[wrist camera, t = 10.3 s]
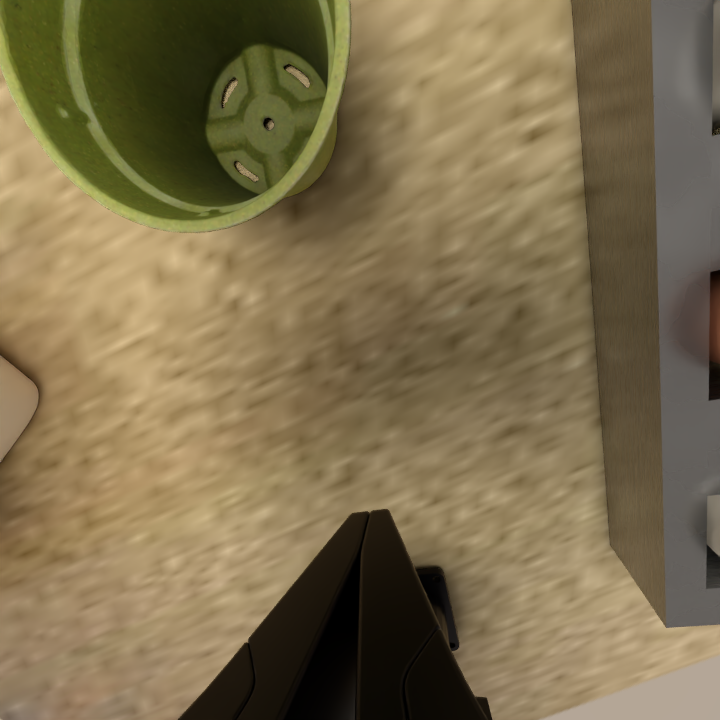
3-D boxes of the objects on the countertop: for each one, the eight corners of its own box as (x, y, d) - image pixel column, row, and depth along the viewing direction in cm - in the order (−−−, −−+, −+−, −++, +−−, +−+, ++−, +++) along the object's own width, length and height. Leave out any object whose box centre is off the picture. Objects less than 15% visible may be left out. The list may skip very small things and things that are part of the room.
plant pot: (418, 90, 17) (432, -59, 8) (306, 273, 19) (235, 296, 11) (234, -50, 16) (51, -364, 8) (146, 162, 19) (-56, 100, 10)
